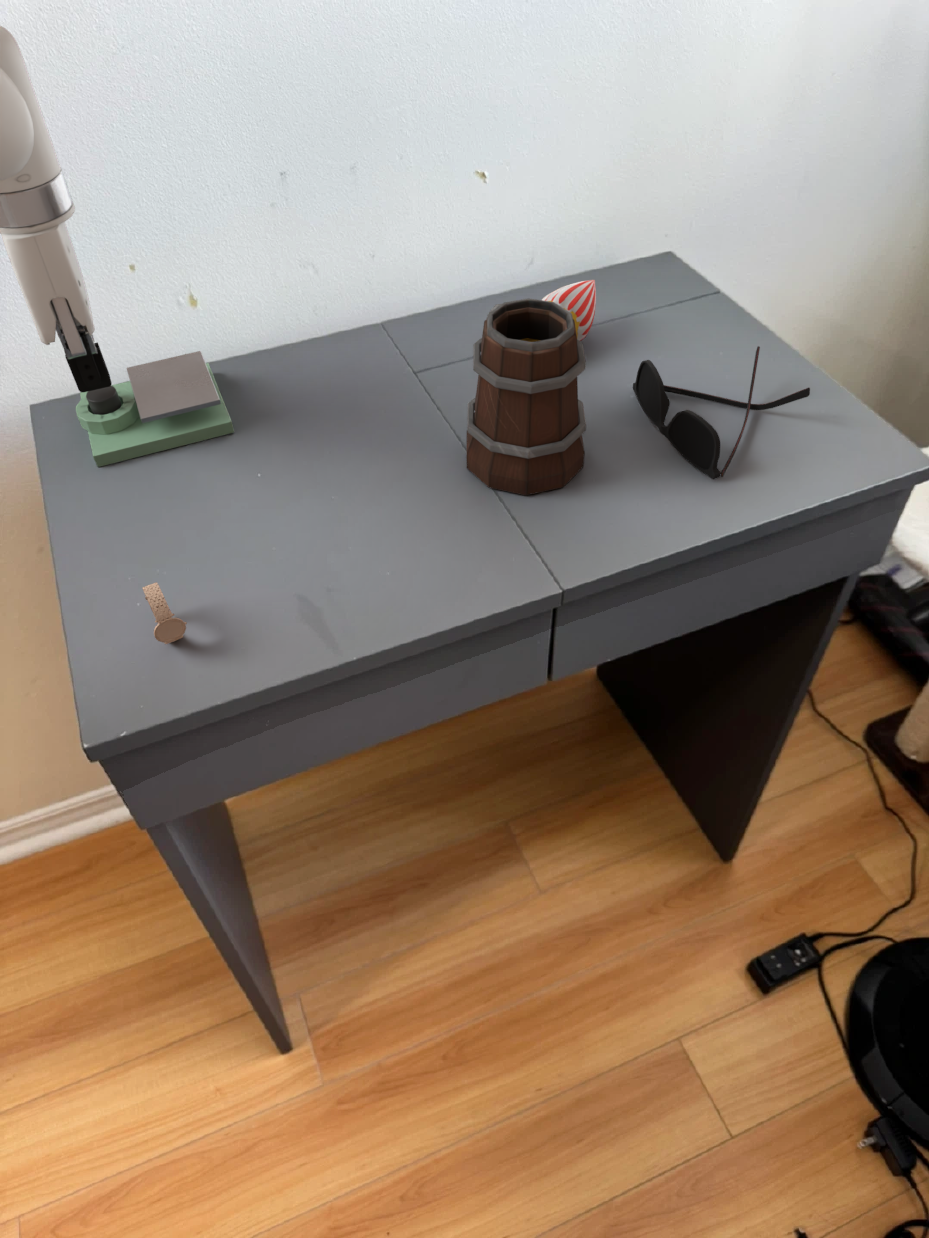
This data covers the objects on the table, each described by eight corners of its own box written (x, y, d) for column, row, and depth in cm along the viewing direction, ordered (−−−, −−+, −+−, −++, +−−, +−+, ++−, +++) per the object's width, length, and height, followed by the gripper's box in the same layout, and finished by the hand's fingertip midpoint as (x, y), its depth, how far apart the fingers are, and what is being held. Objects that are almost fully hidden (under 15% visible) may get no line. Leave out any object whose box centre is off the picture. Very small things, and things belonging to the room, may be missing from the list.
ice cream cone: (497, 421, 99) (588, 308, 105) (534, 415, 93) (627, 296, 100) (465, 378, 95) (561, 264, 102) (502, 369, 90) (600, 250, 97)
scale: (93, 468, 88) (82, 444, 86) (79, 404, 95) (69, 380, 93) (234, 432, 91) (228, 408, 89) (211, 373, 99) (204, 349, 96)
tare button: (93, 418, 89) (87, 404, 88) (90, 403, 91) (84, 388, 89) (123, 411, 90) (117, 397, 88) (119, 396, 91) (113, 381, 90)
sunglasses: (829, 452, 87) (844, 409, 83) (701, 486, 84) (711, 444, 80) (738, 364, 97) (748, 323, 94) (621, 392, 94) (627, 351, 91)
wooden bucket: (602, 479, 85) (619, 341, 74) (484, 506, 83) (483, 368, 71) (544, 391, 95) (551, 257, 83) (438, 413, 93) (430, 279, 81)
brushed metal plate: (142, 423, 88) (140, 418, 87) (127, 372, 94) (126, 367, 93) (221, 404, 89) (219, 399, 89) (202, 355, 96) (200, 350, 95)
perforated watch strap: (163, 657, 71) (145, 616, 68) (146, 619, 74) (128, 578, 70) (195, 643, 72) (178, 603, 68) (177, 607, 75) (160, 566, 71)
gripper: (-26, 174, 78) (50, 357, 92) (-21, 243, 69) (64, 435, 82) (61, 160, 80) (123, 341, 93) (78, 225, 70) (144, 416, 84)
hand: (95, 385), depth 88 cm, fingers closed
